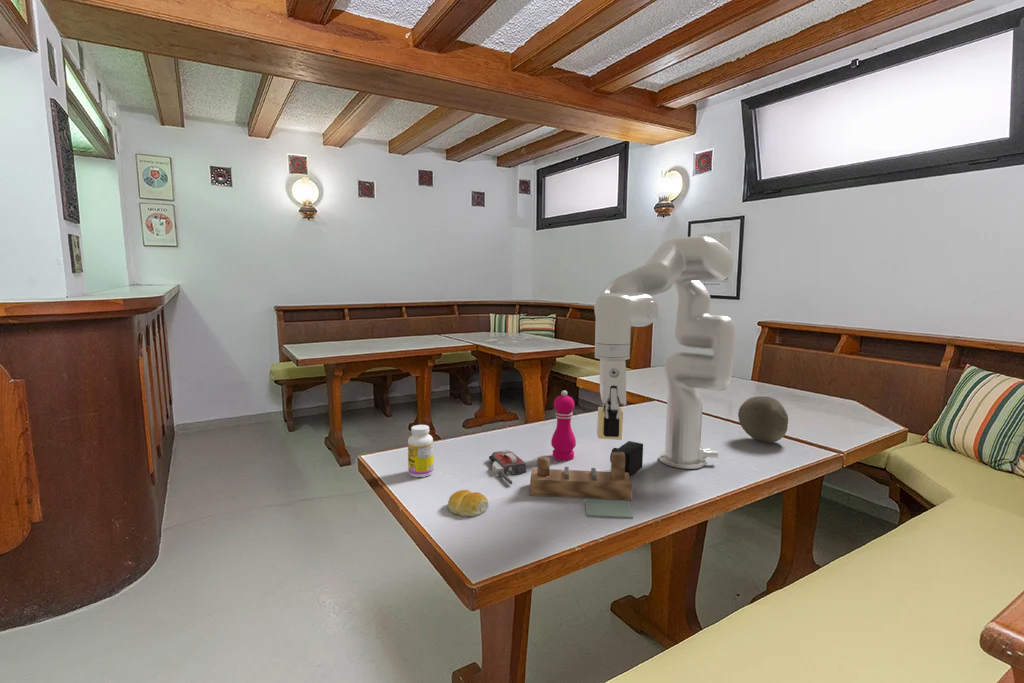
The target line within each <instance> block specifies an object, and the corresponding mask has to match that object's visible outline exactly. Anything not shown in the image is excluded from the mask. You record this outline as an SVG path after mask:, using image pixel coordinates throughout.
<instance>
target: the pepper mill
mask: <svg viewBox="0 0 1024 683" xmlns="http://www.w3.org/2000/svg"><path fill="white" fill-rule="evenodd" d="M553 407H554V409H555V418H556V428H555V430H554V432H553V434H552V437H551V440H550V441H551V442H550V444H551V447H552V448H553V450H552V458H554V459H555V460H558V461H572V460H573V459H574V458H575V451H574V449H575V447H576V445H577V441H576V436H575V434H574V432H573V429H572V425H571V424H572V423H571V420H572V418H573V414H574V413H573V410H574V409H575V400H574V399H573V397H572V396H569V395H568V391H567V390H562V391H561V394H560V395H559V396H557V397H555V399H554V402H553Z"/></svg>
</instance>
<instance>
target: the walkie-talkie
mask: <svg viewBox="0 0 1024 683" xmlns="http://www.w3.org/2000/svg"><path fill="white" fill-rule="evenodd" d="M488 459H489V461H491V465H492V466H491V469H492V470H491V471H492V473H493V474H494V475H495V476H496V477H498V476H497V475H500V477H501V478H502V479H503V480H504V481H505V482H507V483H508V484H509V485H513V481H512V480H511V479H510V478H509V476H510V474H511V475H516V473H518V474H520V475H522V474H523V472H525V473H527V463H526V462H525V461H523V460H522V458H520V457H519V456H517V454H515V453H514V452H513V451H511V450H508V449H507V450H501V451H494V452H492V453H491V455H490V456H488ZM492 462H493V463H492Z"/></svg>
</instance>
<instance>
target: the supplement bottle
mask: <svg viewBox="0 0 1024 683" xmlns="http://www.w3.org/2000/svg"><path fill="white" fill-rule="evenodd" d="M410 429H411V430H410V432H411V434H412V435H411V436H409V437H408V440H407V463H408V464H407V465H408V467H407V468H408V474H409V476H411V477H412V476H413V478H418V477H421V478H426V476H427V477H429V476H431V475H433V473H434V438H433V436H432V435H431V434H429V433H430V426H429V425H427V424H416V425H412V426H411V428H410Z"/></svg>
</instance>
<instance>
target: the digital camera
mask: <svg viewBox="0 0 1024 683" xmlns="http://www.w3.org/2000/svg"><path fill="white" fill-rule="evenodd" d="M611 452H624V454H625V472H628V473H629V476H630V479H631V478H632V477H634V475H635V474H637V473H638V472H639V471H640V470H641V469H643V460H644V459H643V458H644V443H642V442H638V441H637V442H636V441H630V440H629V441H626V442H625V443H624V444H623V445H620V447H612V450H611ZM611 452H610V453H611ZM609 463H611V454H610V456H609ZM637 471H638V472H637ZM631 476H632V477H631Z"/></svg>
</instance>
